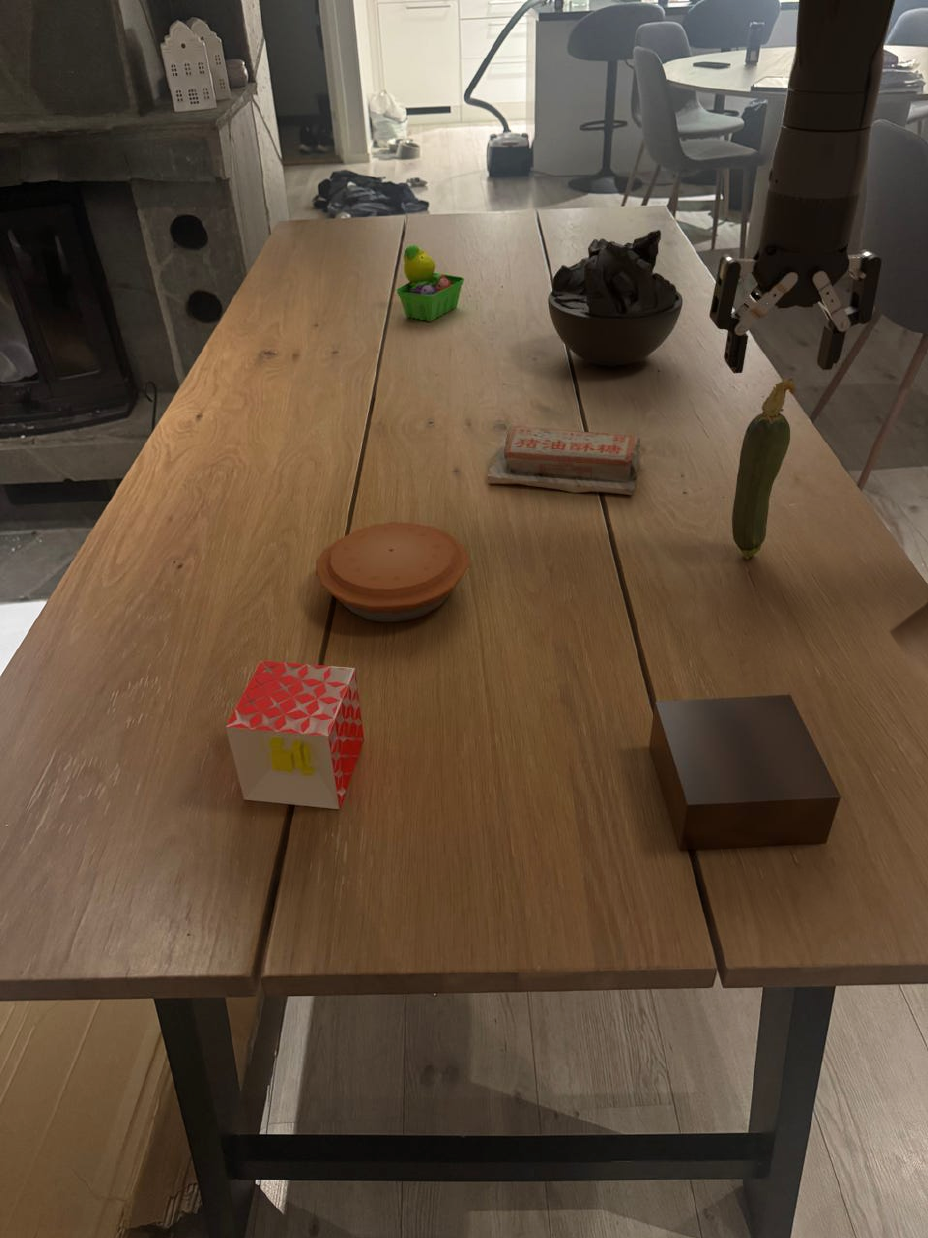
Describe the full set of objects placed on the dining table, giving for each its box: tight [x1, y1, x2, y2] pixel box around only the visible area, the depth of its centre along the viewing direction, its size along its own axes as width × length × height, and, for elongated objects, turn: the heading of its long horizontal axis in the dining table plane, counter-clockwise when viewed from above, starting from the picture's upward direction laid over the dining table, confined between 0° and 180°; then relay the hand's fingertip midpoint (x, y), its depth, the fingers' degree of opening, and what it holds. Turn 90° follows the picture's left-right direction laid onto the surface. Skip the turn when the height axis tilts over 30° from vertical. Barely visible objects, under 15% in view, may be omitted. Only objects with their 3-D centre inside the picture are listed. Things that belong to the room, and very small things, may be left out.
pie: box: [315, 521, 470, 623], centre depth 95 cm, size 15×16×5 cm
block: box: [648, 694, 842, 852], centre depth 71 cm, size 11×11×5 cm
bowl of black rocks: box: [547, 229, 683, 367], centre depth 140 cm, size 20×20×19 cm
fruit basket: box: [396, 244, 465, 323], centre depth 163 cm, size 11×9×11 cm
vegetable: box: [731, 378, 797, 560], centre depth 94 cm, size 4×4×20 cm
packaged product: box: [487, 426, 642, 496], centre depth 115 cm, size 18×5×10 cm
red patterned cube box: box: [225, 660, 365, 810], centre depth 74 cm, size 8×8×8 cm
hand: (779, 368), depth 88 cm, fingers open, 8 cm apart
